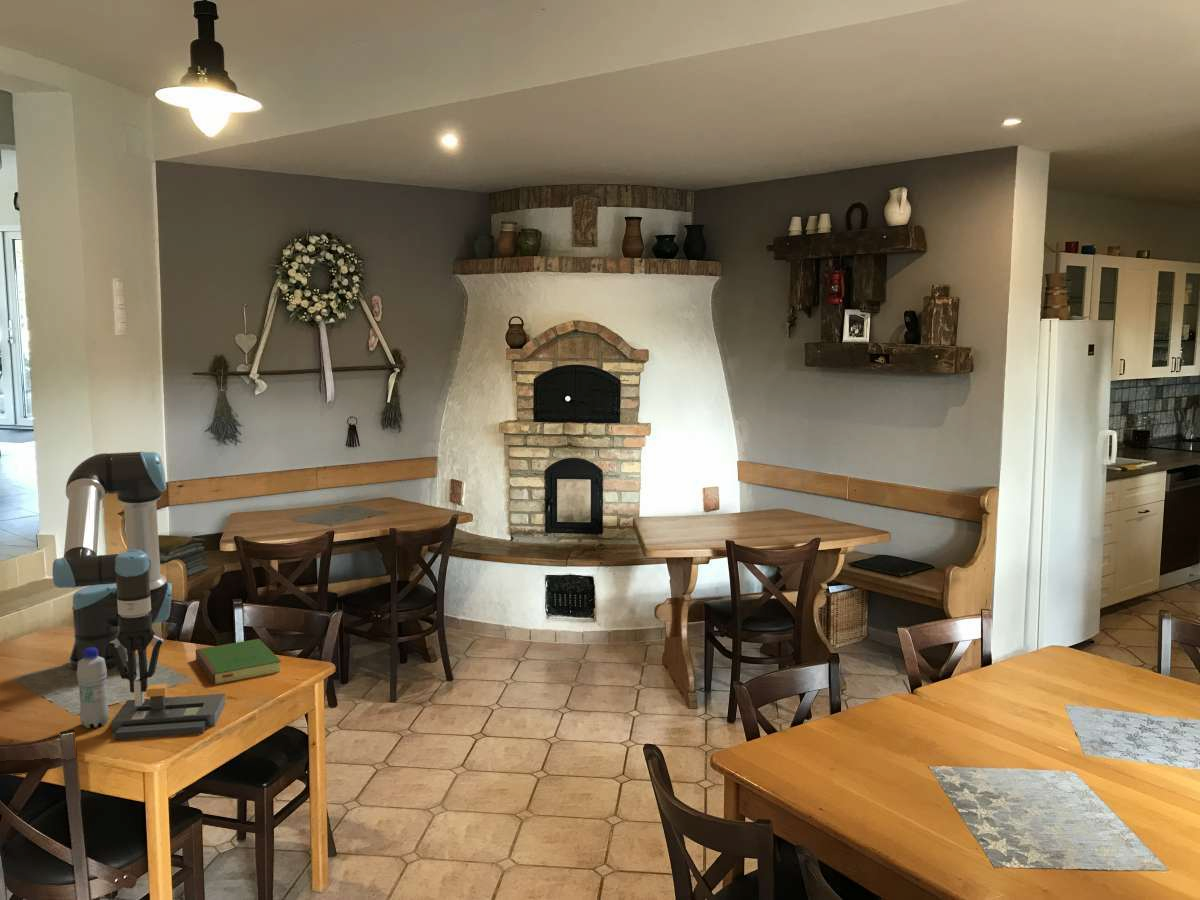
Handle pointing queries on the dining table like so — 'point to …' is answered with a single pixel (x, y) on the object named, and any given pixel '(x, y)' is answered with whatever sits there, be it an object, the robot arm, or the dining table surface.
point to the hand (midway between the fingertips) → (139, 703)
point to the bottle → (92, 688)
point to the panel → (171, 711)
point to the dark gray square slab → (160, 730)
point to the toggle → (157, 696)
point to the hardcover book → (237, 661)
